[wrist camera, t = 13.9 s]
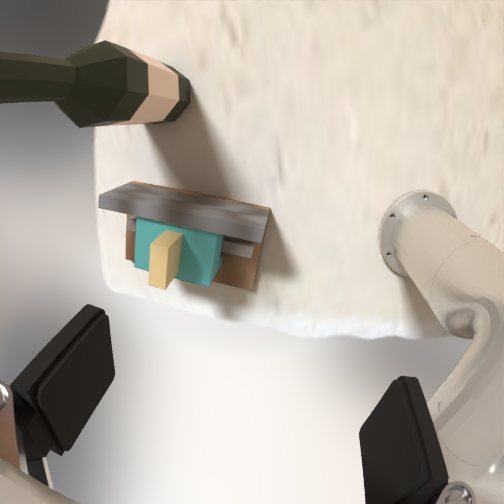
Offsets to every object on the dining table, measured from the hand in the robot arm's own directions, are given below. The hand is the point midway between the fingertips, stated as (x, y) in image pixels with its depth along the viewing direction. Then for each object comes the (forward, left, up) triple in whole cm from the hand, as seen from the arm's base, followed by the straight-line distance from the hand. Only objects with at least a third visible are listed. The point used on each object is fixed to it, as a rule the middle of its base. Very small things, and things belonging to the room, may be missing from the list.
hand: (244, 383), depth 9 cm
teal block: (+8, +11, -32) cm, 35 cm away
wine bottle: (+20, -4, -34) cm, 39 cm away
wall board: (+8, +12, -33) cm, 36 cm away
